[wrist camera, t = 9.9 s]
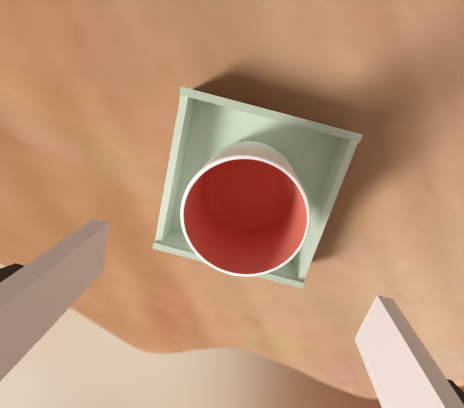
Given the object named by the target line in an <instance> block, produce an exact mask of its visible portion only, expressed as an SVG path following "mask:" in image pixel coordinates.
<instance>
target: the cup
mask: <svg viewBox="0 0 464 408" xmlns="http://www.w3.org/2000/svg"><path fill="white" fill-rule="evenodd" d="M180 219H181V226H182V230H183V233H184V236H185V238H186V240H187V242H188V244H189V246H190V247H191V249H192V250H193V251H194V252H195V254H196V255H197V256H198V257H199V258H200V259H201V260H203V261H204V262H205V263H206V264H208V265H209V266H211V267H213V268H215V269H217V270H219V271H221V272H224V273H227V274H231V275H235V276H258V275H263V274H267V273H270V272H272V271H275V270H277V269H279V268H281V267H282V266H284V265H285V264H287V263H288V262H289V261H290V260H291V259H293V258H294V257H295V256H296V254H297V253H298V252H299V251H300V249H301V248H302V246H303V244H304V243H305V240H306V238H307V236H308V232H309V229H310V222H311V211H310V204H309V200H308V197H307V195H306V192H305V190H304V188H303V186H302V185H301V183H300V181H299V179H298V177H297V175H296V173H295V172H294V170H293V168H292V166H291V164H290V163H289V161H288V160H287V159H286V158H285V156H284V155H283V154H281V153H280V152H279V151H278V150H276V149H275V148H273V147H271V146H269V145H267V144H264V143H260V142H254V141H243V142H238V143H234V144H231V145H229V146H227V147H225V148H223V149H221V150H220V151H219V152H217V153H216V154H215V155H214V156H213V157H212V158H211V159H210V160H209V161H208V162H207V164H206V165H205V166H204V167H203V168H202V169H201V170H200V171H199V172H198V173H197V174H196V175H195V176H194V177H193V179H192V180H191V181H190V183H189V185H188V186H187V188H186V190H185V193H184V195H183V198H182V202H181V208H180Z"/></svg>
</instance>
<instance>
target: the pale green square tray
mask: <svg viewBox="0 0 464 408" xmlns="http://www.w3.org/2000/svg"><path fill="white" fill-rule="evenodd" d="M179 95H181V96H180V101H179V107H178V113H177V118H176V124H175V130H174V135H173V141H172V147H171V153H170V158H169V164H168V170H167V175H166V181H165V187H164V192H163V198H162V204H161V209H160V215H159V221H158V227H157V232H156V238H155V241H154V243H153V249H157V250H160V251H164V252H168V253H172V254H175V255H179V256H183V257H186V258H190V259H194V260H198V261H201V262H204V261H203V260H201V259H200V258H199V257H198V256H197V255H196V254H195V252H194V251H193V250H192V249H191V247H190V246H189V244H188V242H187V240H186V238H185V236H184V233H183V230H182V226H181V219H180V208H181V202H182V198H183V195H184V193H185V190H186V188H187V186H188V185H189V183H190V181H191V180H192V179H193V177H194V176H195V175H196V174H197V173H198V172H199V171H200V170H201V169H202V168H203V167H204V166H205V165H206V164H207V162H208V161H209V160H210V159H211V158H212V157H213V156H214V155H215V154H216V153H217V152H219V151H220V150H221V149H223V148H225V147H227V146H229V145H231V144H234V143H238V142H243V141H254V142H260V143H264V144H267V145H269V146H271V147H273V148H275V149H276V150H278V151H279V152H280V153H281V154H283V155H284V156H285V158H286V159H287V160H288V161H289V163H290V164H291V166H292V168H293V170H294V172H295V173H296V175H297V177H298V179H299V181H300V183H301V185H302V186H303V188H304V190H305V192H306V195H307V197H308V200H309V204H310V211H311V222H310V229H309V232H308V236H307V238H306V240H305V243H304V244H303V246H302V248H301V249H300V251H299V252H298V253H297V254H296V256H295V257H294V258H293V259H291V260H290V261H289V262H288V263H287V264H285V265H284V266H282V267H281V268H279V269H277V270H275V271H272V272H270V273H267V274H263V275H258V276H257V277H261V278H264V279H268V280H272V281H276V282H279V283H283V284H287V285H290V286H294V287H298V288H303V286H304V279H305V277H306V274H307V271H308V269H309V266H310V264H311V261H312V259H313V256H314V254H315V251H316V248H317V246H318V243H319V241H320V238H321V236H322V233H323V231H324V228H325V226H326V223H327V220H328V218H329V215H330V213H331V210H332V208H333V205H334V203H335V200H336V197H337V195H338V192H339V190H340V187H341V185H342V182H343V180H344V177H345V175H346V172H347V169H348V167H349V164H350V162H351V159H352V157H353V154H354V152H355V149H356V146H357V144H358V142H360V141H361V139H362V136H363V134H359V133H355V132H352V131H348V130H344V129H340V128H337V127H333V126H329V125H325V124H321V123H318V122H314V121H310V120H306V119H303V118H299V117H295V116H291V115H287V114H284V113H280V112H276V111H272V110H268V109H265V108H261V107H257V106H253V105H250V104H246V103H242V102H238V101H234V100H231V99H227V98H223V97H219V96H215V95H212V94H208V93H204V92H200V91H197V90H193V89H189V88H185V87H181V88H180V93H179Z"/></svg>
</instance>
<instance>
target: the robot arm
mask: <svg viewBox="0 0 464 408" xmlns="http://www.w3.org/2000/svg"><path fill="white" fill-rule="evenodd" d="M108 225H109V223H107V222H103V221H100V220H96V219H92V220H91V221H89V222H88V223H86V224H85V225H83V226H82V227H81V228H79V229H78V230H76V231H75V232H73V233H72V234H70V235H69V236H67V237H66V238H65V239H63V240H62V241H60V242H59V243H57V244H56V245H54V246H53V247H51V248H50V249H49V250H47V251H46V252H44V253H43V254H41V255H40V256H38V257H37V258H35V259H34V260H33V261H31V262H30V263H28V264H27V265H25V266H23V265H19V264H16V263H15V264H13V265H10V266H7V267H4V268H1V269H0V381H1V380H2V379H3V378H4V377H5V376H6V375H7V374H8V372H9V371H10V370H11V369H12V368H13V367H14V366H15V365H16V364H17V363H18V362H19V361H20V360H21V359H22V358H23V356H24V355H25V354H26V353H27V352H28V351H29V350H30V349H31V348H32V347H33V346H34V345H35V344H36V343H37V342H38V340H39V339H40V338H41V337H42V336H43V335H44V334H45V333H46V332H47V331H48V330H49V329H50V328H51V327H52V326H53V325H54V323H55V322H56V321H57V320H58V319H59V318H60V317H61V316H62V315H63V314H64V313H65V312H66V311H67V309H68V308H70V306H71V305H72V304H73V303H74V302H75V301H76V300H77V299H78V298H79V297H80V296H81V295H82V294H83V293H84V292H85V290H86V289H87V288H88V287H89V286H90V285H91V284H92V283H93V282H94V281H95V280H96V279H97V278H98V277H99V276H100V274H101V273H102V272H103V271H104V263H105V253H106V244H107V235H108ZM355 341H356V344H357V346H358V349H359V351H360V354H361V356H362V359H363V361H364V364H365V366H366V369H367V371H368V374H369V377H370V379H371V382H372V384H373V387H374V389H375V392H376V394H377V397H378V399H379V402H380V404H381V407H382V408H464V392H463V391H462V390H461V389H460V388H459V387H458V386H457V385H456V384H455V383H454V382H453V381H452V380H448V379H446V377H445V376H444V374H443V373H442V372H441V370H440V369H439V367H438V366H437V364H436V363H435V361H434V360H433V358H432V357H431V355H430V354H429V352H428V351H427V349H426V348H425V346H424V345H423V343H422V342H421V340H420V339H419V337H418V336H417V334H416V333H415V331H414V330H413V328H412V327H411V325H410V324H409V322H408V321H407V319H406V318H405V316H404V315H403V314H402V312H401V311H400V309H399V308H398V306H397V305H396V303H395V302H394V300H393V299H390V298H386V297H383V296H379V295H377V296H376V298H375V300H374V302H373V304H372V306H371V308H370V310H369V312H368V314H367V316H366V318H365V320H364V321H363V323H362V325H361V327H360V329H359V331H358V333H357V335H356V337H355Z"/></svg>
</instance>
